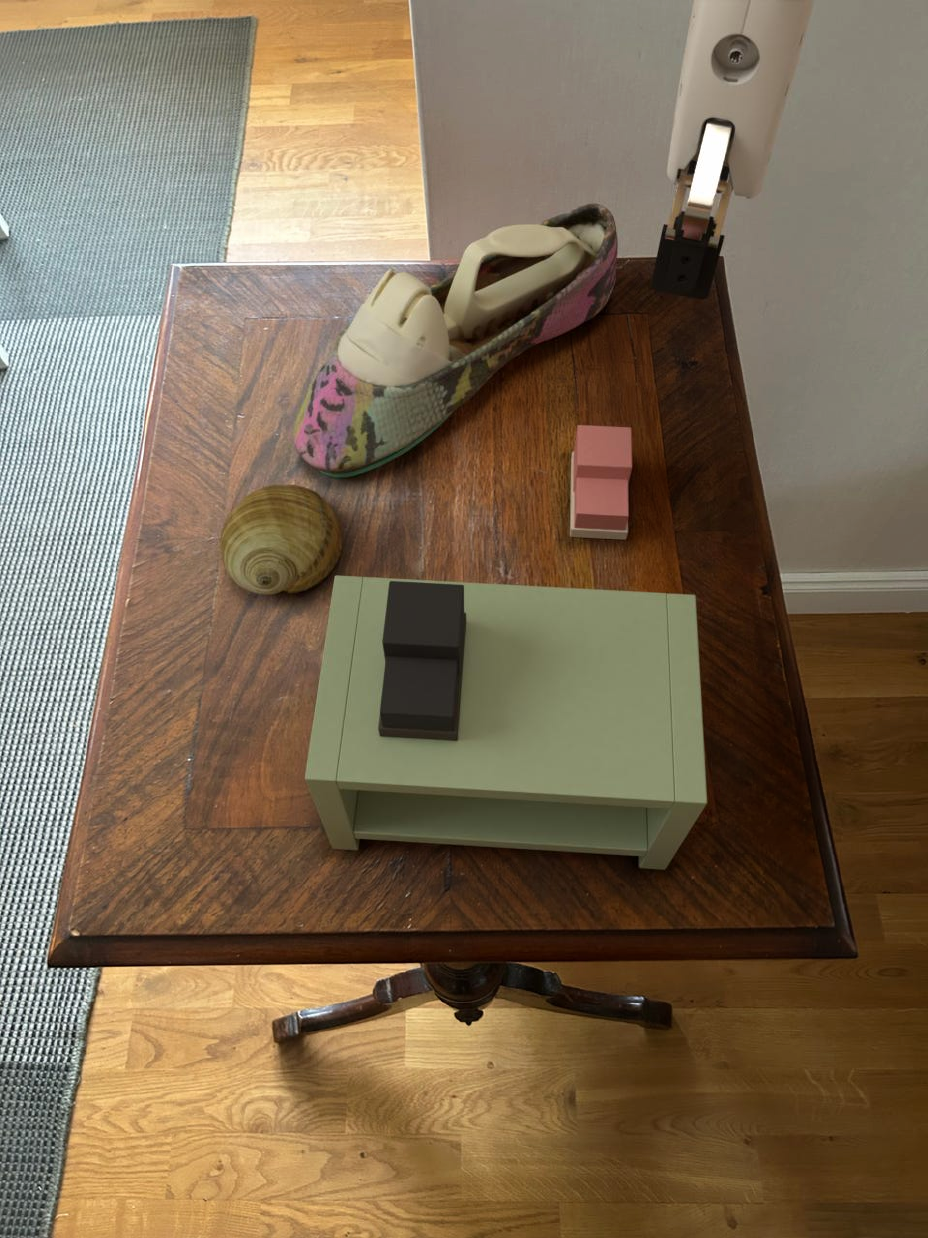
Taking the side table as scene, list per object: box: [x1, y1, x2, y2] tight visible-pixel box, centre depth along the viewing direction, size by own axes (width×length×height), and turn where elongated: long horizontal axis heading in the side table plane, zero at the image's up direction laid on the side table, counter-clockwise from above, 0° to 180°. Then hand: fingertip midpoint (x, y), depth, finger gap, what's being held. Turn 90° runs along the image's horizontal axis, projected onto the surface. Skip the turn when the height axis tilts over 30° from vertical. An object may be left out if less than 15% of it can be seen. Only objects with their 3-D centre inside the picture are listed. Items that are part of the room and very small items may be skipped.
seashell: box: [219, 484, 343, 596], centre depth 69 cm, size 10×7×8 cm
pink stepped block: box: [569, 424, 633, 541], centre depth 72 cm, size 7×4×4 cm, turn 176°
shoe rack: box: [304, 575, 708, 871], centre depth 58 cm, size 20×12×12 cm, turn 86°
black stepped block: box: [378, 581, 466, 741], centre depth 51 cm, size 7×4×4 cm, turn 176°
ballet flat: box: [294, 203, 619, 478], centre depth 75 cm, size 10×30×11 cm, turn 129°
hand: (693, 233), depth 58 cm, fingers open, 9 cm apart
